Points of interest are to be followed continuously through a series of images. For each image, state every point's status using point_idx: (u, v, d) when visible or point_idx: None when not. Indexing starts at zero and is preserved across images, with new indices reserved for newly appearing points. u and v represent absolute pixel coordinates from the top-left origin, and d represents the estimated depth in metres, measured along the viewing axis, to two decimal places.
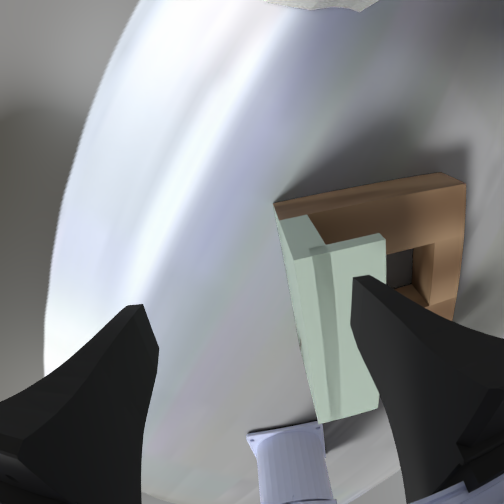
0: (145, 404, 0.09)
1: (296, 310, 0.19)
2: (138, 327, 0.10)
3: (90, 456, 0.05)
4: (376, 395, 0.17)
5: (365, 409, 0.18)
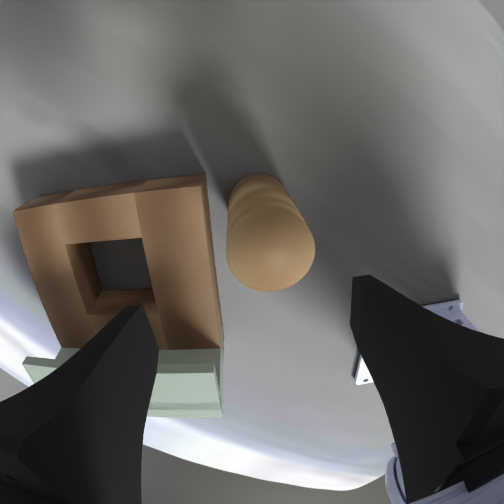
0: (145, 404, 0.09)
1: None
2: (138, 327, 0.10)
3: (90, 456, 0.05)
4: (183, 376, 0.15)
5: (209, 384, 0.15)
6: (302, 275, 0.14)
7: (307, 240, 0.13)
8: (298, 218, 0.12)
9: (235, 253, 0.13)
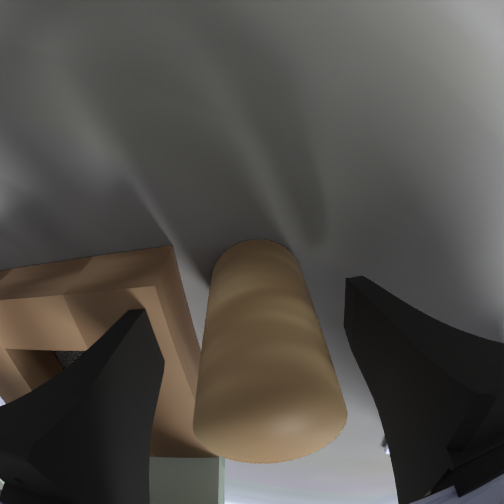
0: (153, 404, 0.09)
1: None
2: (146, 326, 0.10)
3: (100, 457, 0.05)
4: None
5: None
6: (324, 445, 0.07)
7: (334, 410, 0.06)
8: (319, 386, 0.06)
9: (208, 433, 0.07)
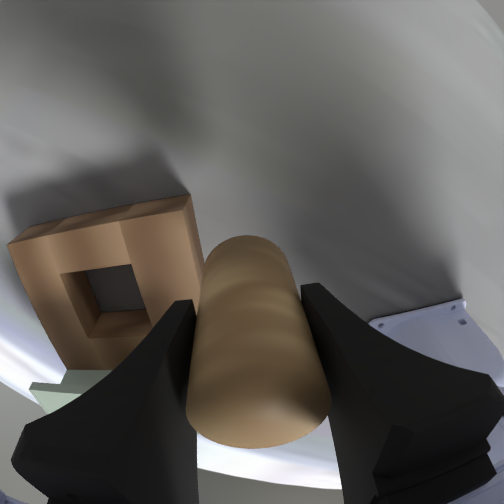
0: None
1: None
2: (190, 322, 0.10)
3: (162, 462, 0.05)
4: None
5: None
6: (311, 429, 0.08)
7: (319, 394, 0.07)
8: (303, 370, 0.07)
9: (201, 417, 0.07)
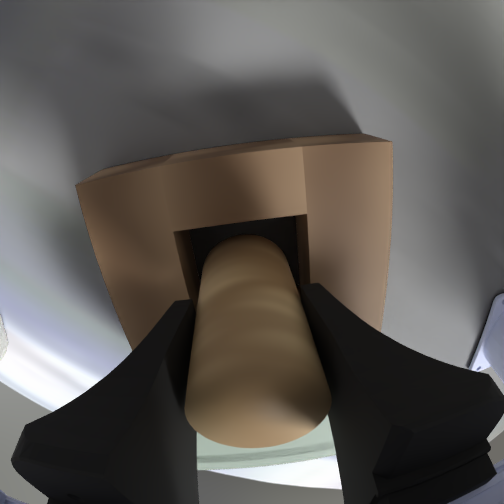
0: None
1: None
2: (190, 322, 0.10)
3: (162, 462, 0.05)
4: None
5: None
6: (310, 429, 0.08)
7: (319, 393, 0.07)
8: (303, 369, 0.07)
9: (199, 416, 0.07)
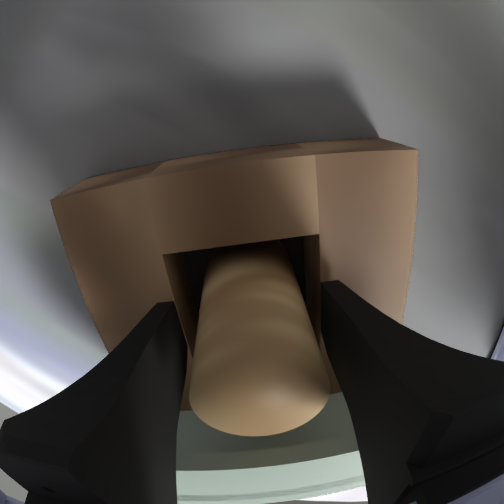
0: (178, 403, 0.09)
1: None
2: (171, 324, 0.10)
3: (134, 461, 0.05)
4: None
5: None
6: (310, 417, 0.08)
7: (318, 381, 0.07)
8: (302, 356, 0.07)
9: (203, 403, 0.08)
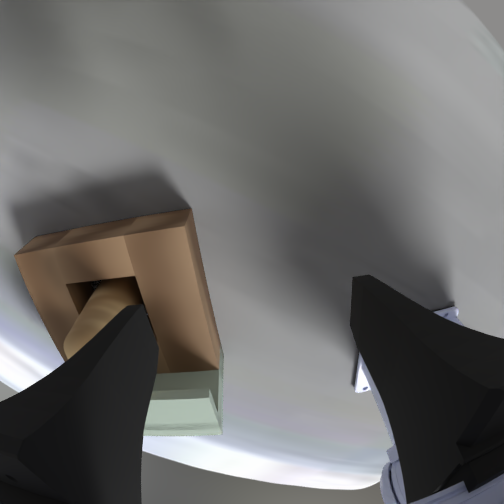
0: (145, 404, 0.09)
1: None
2: (138, 327, 0.10)
3: (90, 456, 0.05)
4: (182, 401, 0.16)
5: (206, 407, 0.16)
6: None
7: None
8: None
9: (71, 355, 0.15)
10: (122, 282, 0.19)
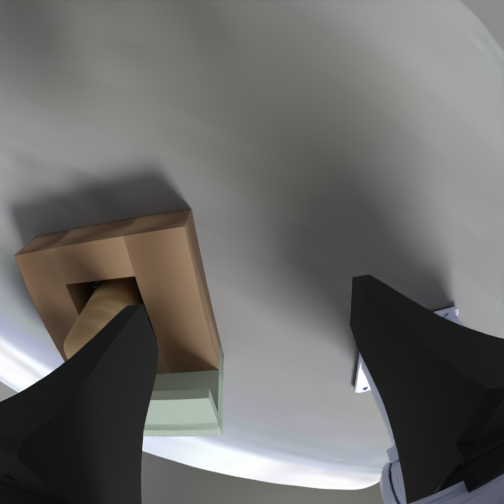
0: (145, 404, 0.09)
1: None
2: (138, 327, 0.10)
3: (90, 456, 0.05)
4: (182, 401, 0.16)
5: (206, 407, 0.16)
6: None
7: None
8: None
9: (71, 356, 0.15)
10: (122, 282, 0.19)
